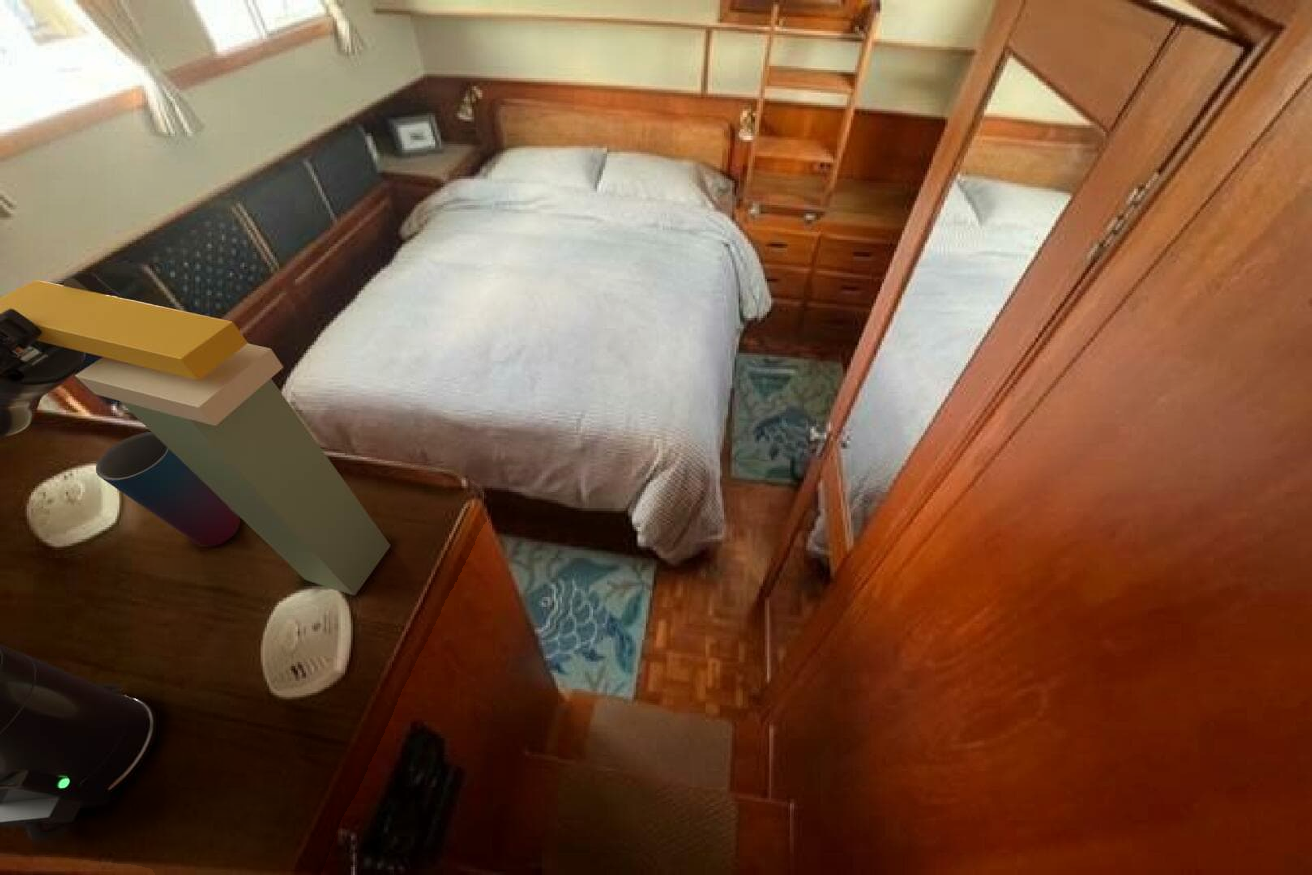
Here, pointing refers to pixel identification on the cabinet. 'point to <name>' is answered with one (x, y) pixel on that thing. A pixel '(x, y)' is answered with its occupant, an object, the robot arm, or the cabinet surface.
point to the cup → (167, 489)
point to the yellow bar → (126, 329)
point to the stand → (254, 459)
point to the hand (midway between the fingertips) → (57, 302)
